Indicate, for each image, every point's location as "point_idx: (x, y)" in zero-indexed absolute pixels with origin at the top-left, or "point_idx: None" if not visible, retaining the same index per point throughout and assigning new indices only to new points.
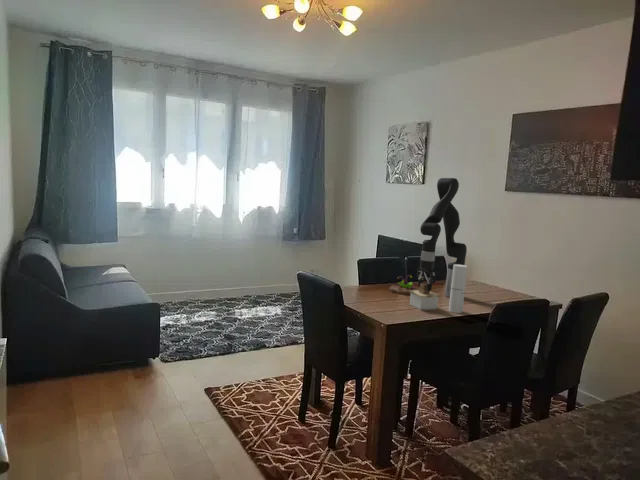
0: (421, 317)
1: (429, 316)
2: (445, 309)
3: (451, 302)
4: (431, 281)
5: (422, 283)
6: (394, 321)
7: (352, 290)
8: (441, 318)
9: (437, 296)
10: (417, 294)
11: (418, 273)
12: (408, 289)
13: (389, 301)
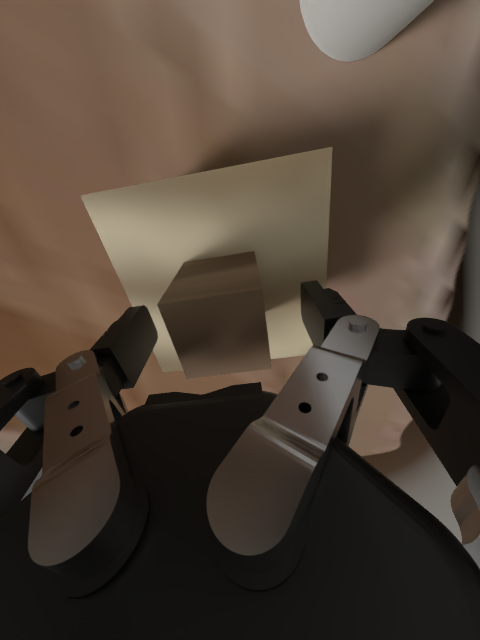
0: None
1: (403, 295)
2: (293, 76)
3: (415, 7)
4: (445, 398)
5: (204, 363)
6: (402, 427)
7: (8, 441)
8: (461, 245)
9: (327, 189)
10: (273, 357)
11: (20, 486)
12: None
13: (144, 374)
